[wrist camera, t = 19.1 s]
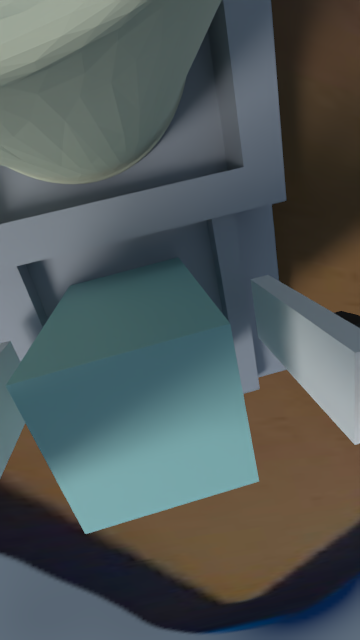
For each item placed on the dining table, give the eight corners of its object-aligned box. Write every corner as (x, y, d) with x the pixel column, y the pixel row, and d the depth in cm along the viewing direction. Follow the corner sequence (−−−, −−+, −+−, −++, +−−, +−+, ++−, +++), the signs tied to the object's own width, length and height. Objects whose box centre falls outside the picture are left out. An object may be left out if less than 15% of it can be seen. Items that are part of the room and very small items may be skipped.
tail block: (105, 378, 16) (85, 533, 9) (69, 285, 14) (5, 385, 7) (200, 351, 16) (258, 481, 9) (178, 257, 14) (229, 323, 7)
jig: (-281, -219, 9) (-470, -410, 6) (210, -293, 10) (244, -492, 7) (40, 425, 18) (23, 468, 15) (279, 360, 18) (306, 389, 16)
